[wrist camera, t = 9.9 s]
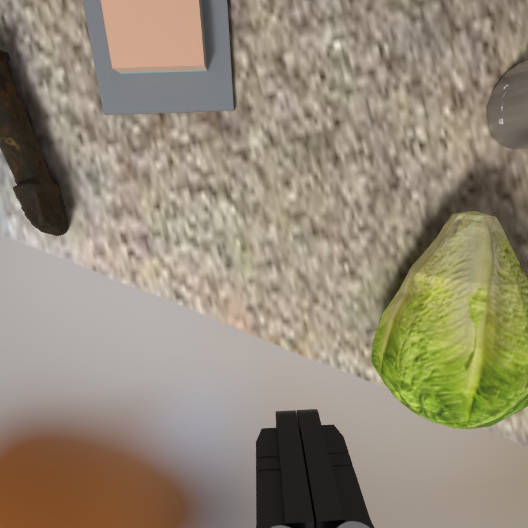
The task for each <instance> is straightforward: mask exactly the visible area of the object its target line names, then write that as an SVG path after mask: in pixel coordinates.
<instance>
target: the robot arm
mask: <svg viewBox="0 0 528 528" xmlns="http://www.w3.org/2000/svg"><path fill="white" fill-rule="evenodd" d="M487 120H488V126H489V129H490V132H491V134H492V135H493V137H494V138H495V140H497V141H498V142H499V143H500V144H502V145H504V146H506V147H508V148H513V149H523V148H528V59H527V60H525V61H523V62H521V63H519V64H517V65H515V66H514V67H513V68H511V69H510V70H509V71H508V72H507V73H506V74H505V75H504V76H503V77H502V78H501V79H500V81H499V82H498V84H497V85H496V86H495V88H494V90H493V93H492V95H491V97H490V100H489V104H488V111H487ZM256 486H257V487H256V492H257V493H256V496H257V497H256V498H257V499H256V500H257V501H256V502H257V504H256V506H257V526H256V528H374V526H373V524H372V522H371V520H370V518H369V515H368V511H367V508H366V505H365V502H364V499H363V496H362V493H361V490H360V487H359V483H358V481H357V477H356V474H355V471H354V468H353V466H352V462H351V459H350V456H349V454H348V449H347V446H346V443H345V440H344V437H343V436H342V434H341V433H340V432H339V431H338V430H337V428H336V427H335V426H334V425H321V422H320V418H319V414H318V411H317V409H311V410H297V415H296V411H295V410H294V411H276V428H264V429H262V430H261V432H260V434H259V437H258V439H257V441H256Z"/></svg>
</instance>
